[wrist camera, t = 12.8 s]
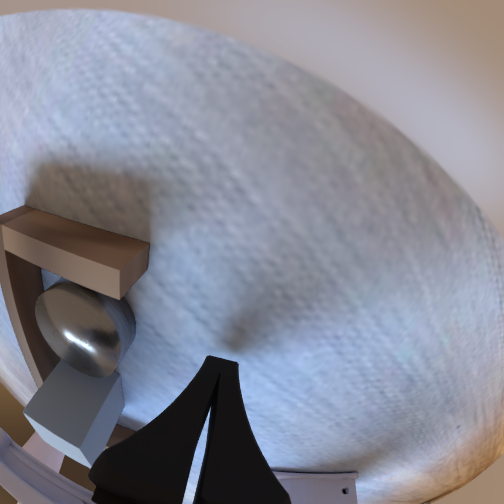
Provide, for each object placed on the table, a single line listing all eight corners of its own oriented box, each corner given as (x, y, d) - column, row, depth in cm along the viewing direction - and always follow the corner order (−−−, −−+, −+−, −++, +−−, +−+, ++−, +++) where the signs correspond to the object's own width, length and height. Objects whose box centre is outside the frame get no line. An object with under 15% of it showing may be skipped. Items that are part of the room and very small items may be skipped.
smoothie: (40, 420, 22) (1, 489, 9) (36, 403, 19) (-13, 483, 6) (79, 447, 23) (45, 521, 10) (80, 435, 20) (39, 523, 7)
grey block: (120, 373, 14) (79, 448, 8) (124, 406, 15) (94, 470, 10) (69, 349, 14) (22, 411, 8) (79, 384, 15) (43, 440, 10)
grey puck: (138, 285, 11) (111, 316, 9) (137, 359, 13) (120, 390, 11) (58, 256, 11) (27, 277, 9) (68, 328, 13) (46, 353, 11)
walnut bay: (149, 243, 10) (119, 270, 8) (150, 442, 17) (141, 464, 15) (23, 205, 10) (-10, 219, 8) (69, 405, 17) (58, 424, 15)
